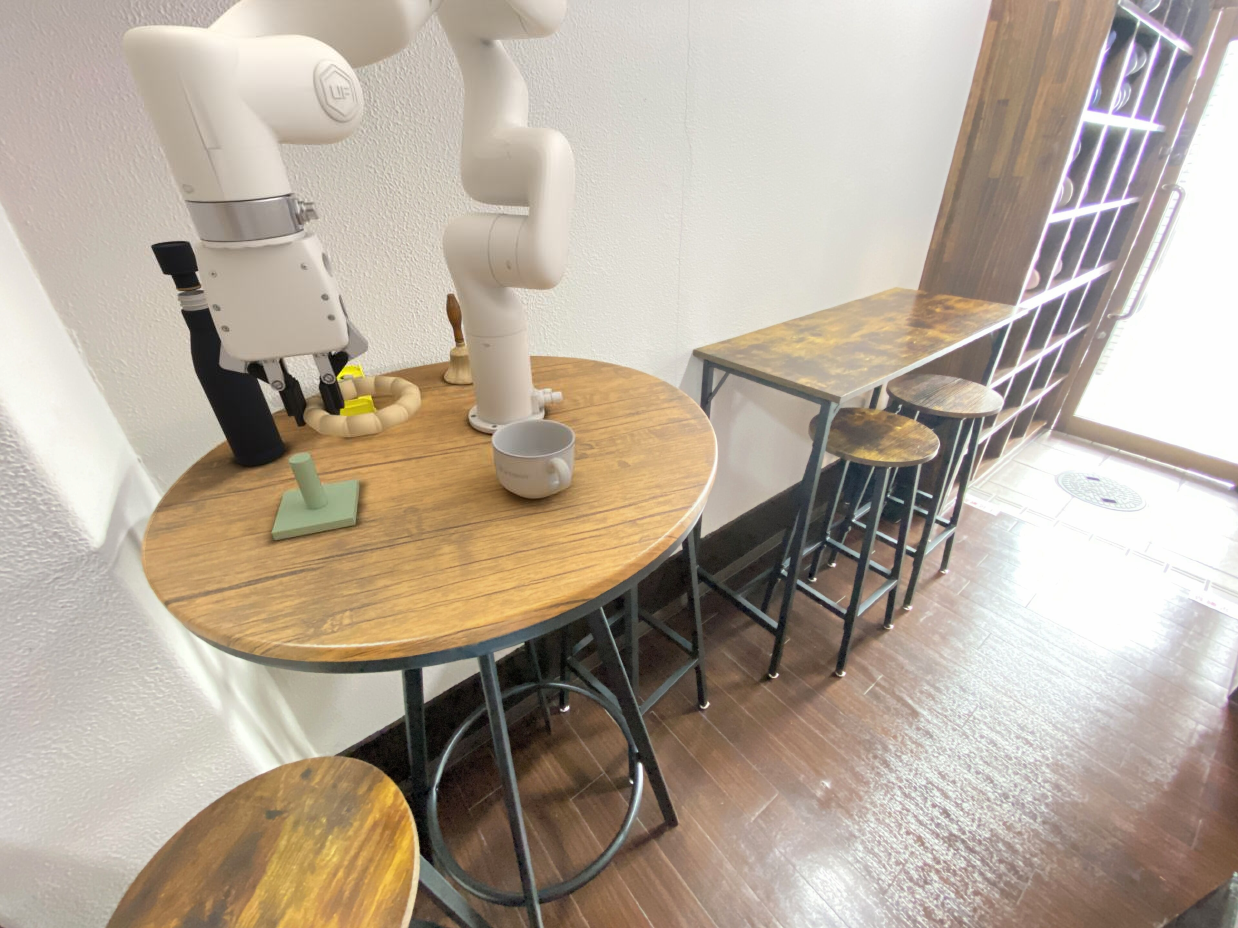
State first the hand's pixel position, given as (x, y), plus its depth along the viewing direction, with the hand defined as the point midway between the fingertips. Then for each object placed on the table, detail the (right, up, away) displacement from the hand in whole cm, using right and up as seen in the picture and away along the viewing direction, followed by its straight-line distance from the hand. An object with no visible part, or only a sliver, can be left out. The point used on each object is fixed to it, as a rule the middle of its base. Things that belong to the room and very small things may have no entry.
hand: (319, 416), depth 54 cm
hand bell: (0, +12, +51) cm, 53 cm away
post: (-8, -11, +15) cm, 20 cm away
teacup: (+20, -9, +19) cm, 29 cm away
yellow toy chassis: (-14, +3, +37) cm, 40 cm away
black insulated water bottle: (-24, -4, +27) cm, 36 cm away
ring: (+4, +1, +1) cm, 4 cm away
